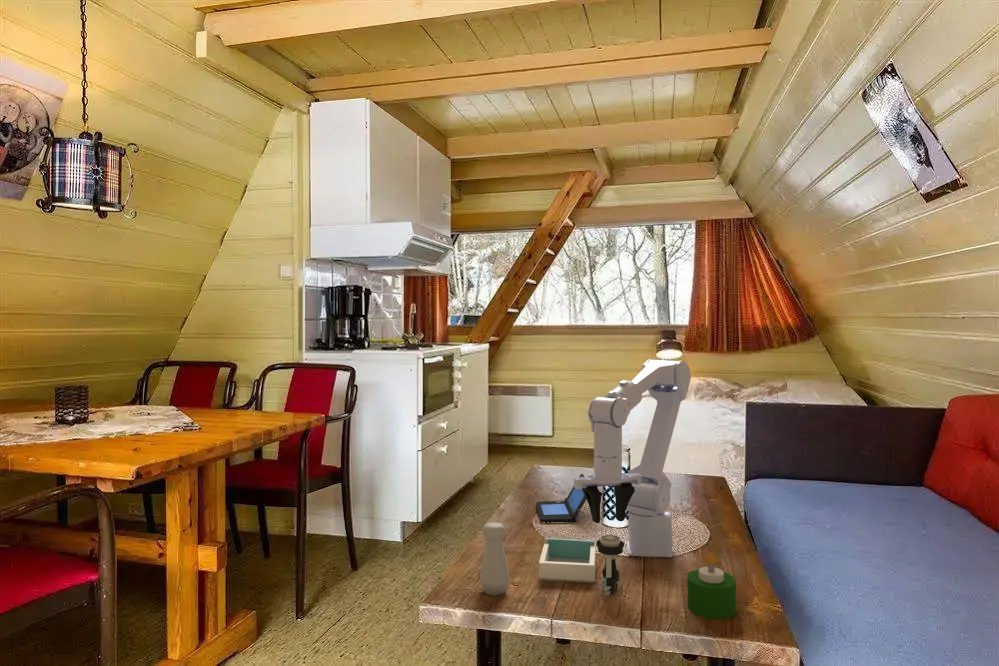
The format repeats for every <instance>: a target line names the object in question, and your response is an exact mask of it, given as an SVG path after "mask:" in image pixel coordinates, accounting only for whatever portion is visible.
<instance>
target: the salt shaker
mask: <svg viewBox="0 0 999 666" xmlns="http://www.w3.org/2000/svg"><path fill="white" fill-rule="evenodd" d="M482 535H483V538H485V543H484V550H483V558H482V562H481V569H480V576H479V582H480V584H481V586H482V588H483V589H484V592H485V594H487V595H491V596H497V595H503V594H505V591H506V590H507V587H508V585H509V583H510V579H511V578H510V572H509V566H508V562H507V561H508V560H507V557H506V556H507V555H506V552H505V551H506V550H505V546H504V541H503V538H504V537H505V535H506V527H505V525H504V524H503V523H500V522H487V523H486V524H484V525H483V529H482Z"/></svg>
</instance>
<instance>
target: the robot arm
mask: <svg viewBox="0 0 999 666" xmlns="http://www.w3.org/2000/svg"><path fill="white" fill-rule="evenodd" d="M691 379H692V375H691V369H690V367H689V364H688V363H687V361H686V360H664V359H663V360H661V359H660V360H659V359H650V358H649V359H647V360H646V361H645V362H643V363H642V365H641V369H640V372H638V374H637V375H636V376H635V377H633V379H632V380H621V381H620V382H619V383H618V385H617V386H616V387H614V388H613V389H612V390H610V391H609V392H607V394H605V395H604V396H603V397H602V396H597V397H595V398H594V399H593V400H592V401H591V402H590V404H589V407H588V408H589V409H588V410H587V417H588V420H589V422H590V425H591V428H590V429H591V432H592V433H593V474H591V475H584V477H579V476H578V477H574V478H573V486H574V487H575V488H576V489H582V491H583V493H584V495H585V497H586V501H587V503H588V507H589V509H590V515H591V519H592V521H593V522H594V523H595V524H600V522H601V501H602V496H603V492H601V490H600V489H599V487H601V488H602V487H612V486H613V490H614V497H615V498H614V499H615V518H616V520H618V521H619V522H624V519H625V515H626V512H627V511H628V541H626V547H627V548H626V549H627V555H628V556H635V557H636V556H637V557H657V558H673V544H674V543H673V541H674V539H673V528H672V525H673V524H672V514H671V512H670V511H666V510H667V509H668V508H669V505H670V503H671V487H672V483H671V481H670V479H669V478H668V476H667V475H666V474H665V473H664V472H663V471H664V468H665V464H666V460H667V456H668V452H669V448H670V444H671V441H672V436H673V433H674V429H675V426H676V421H677V418H678V414H679V411H680V407H681V402H683V401H684V400H686V397H687V395H688V390H689V387H690V385H691ZM647 391H648V394H649V395H650V398H653V399H654V400H655V401H656V407H655V411H654V414H653V417H652V421H651V424H650V428H649V432H648V436H647V437H646V441H645V446H644V449H643V453H642V457H641V461H640V463H639V465H638V466H636V467H634V468H631V469H630V470H629V471H628V473H624V472H623V426H624V425H625V424H626V423H627V421H628V417H629V415H630V414H631V410H633V409H634V408H635V407H637V405H639V404H640V403H641V401H642V400H643V394H644V393H645V392H647Z"/></svg>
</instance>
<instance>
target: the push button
mask: <svg viewBox="0 0 999 666" xmlns="http://www.w3.org/2000/svg"><path fill="white" fill-rule="evenodd" d="M595 543H596V544H595V546H597V552H598V553H600V554H601V555H602V556H604V557H605V559H604V560H605V561H604V562H605V564H604V568H603V569H602V578H603V579H602V581H601V583H602V584H601V585H602V586H601V587H602V589H603V593H604V596H609V595H614V592H615V591H616V589H617V591H619V590H620V589H619V588H620V572H619V570H618V569H617V563H616V557H618V556H619V555H621V554H623V553H624V547H625V542H624V541H622V540H621V539H620V537H619V536H618V535H615V534H614V535H613V534H604V535H602V536H601V537H600V539H597V540H596V542H595Z"/></svg>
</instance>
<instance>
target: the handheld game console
mask: <svg viewBox="0 0 999 666" xmlns="http://www.w3.org/2000/svg"><path fill="white" fill-rule="evenodd" d="M584 476H585V475H584V474H583V473H581V474H580V475H579V476H578V478H579V477H584ZM586 501H587V499H586V497H585V495H584V493H583V491H582V489H576V488H575V487H574V485H573V486H572V488H571V490H570V492H569V493H568V494H567V496H566V497H565V498H564V500H549V501H548V500H544V501H542V500H541V501H537V502H536V503H535V506H536V511H537V514H538V518H539V522H540V521H541V523H542V522H545V523H544V524H552V523H551V522H576V523H577V516H578V514H579V513H580V511H581V510H582V508H583V506H584V504H585V503H586ZM548 522H549V523H548Z"/></svg>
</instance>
